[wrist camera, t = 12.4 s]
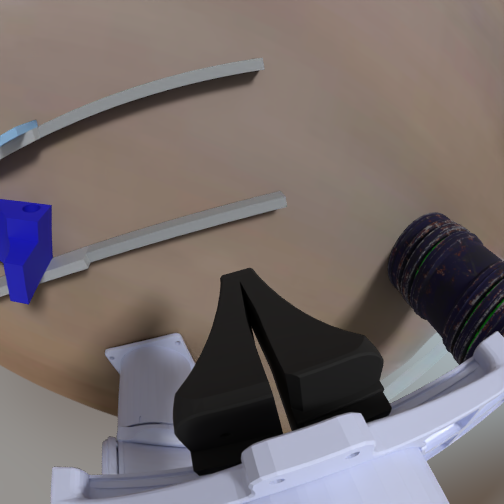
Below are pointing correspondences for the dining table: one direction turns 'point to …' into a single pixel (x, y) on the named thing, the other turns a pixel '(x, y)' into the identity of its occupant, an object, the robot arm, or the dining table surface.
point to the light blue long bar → (17, 132)
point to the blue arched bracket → (25, 246)
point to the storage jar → (450, 282)
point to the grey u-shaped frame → (157, 232)
